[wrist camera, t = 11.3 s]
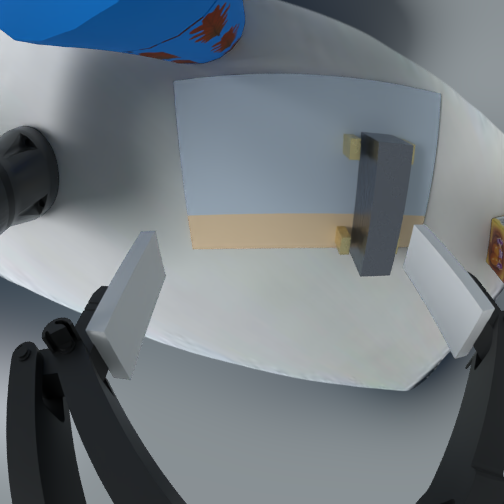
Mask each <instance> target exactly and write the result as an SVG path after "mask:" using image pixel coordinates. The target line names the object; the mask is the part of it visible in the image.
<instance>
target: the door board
mask: <svg viewBox="0 0 504 504" xmlns="http://www.w3.org/2000/svg"><path fill="white" fill-rule="evenodd" d="M173 83H174V97H175V109H176V120H177V131H178V141H179V150H180V159H181V168H182V176H183V184H184V192H185V199H186V207H187V214H188V221H189V228H190V234H191V241H192V247H193V249H246V248H337V247H336V244H335V237H336V228H337V226H346V228H347V230H348V232H349V234H350V236H351V232H352V225H353V217H354V208H355V199H356V190H357V179H358V168H359V160H349V159H348V158H347V157H346V156H345V155H344V154H343V135H344V134H354V135H355V136H357V137H359V138H361V132H370V133H380V134H389V135H393V136H395V137H397V138H399V139H405V140H407V141H409V142H411V143H413V144H415V145H416V146H415V154H414V163H413V165H411V172H410V179H409V186H408V192H407V198H406V204H405V210H404V215H403V220H402V225H401V230H400V235H399V237H400V241H399V246H398V247H409V243H410V239H411V235H412V231H413V227H414V225H423V222H424V218H425V213H426V209H427V204H428V199H429V193H430V188H431V182H432V176H433V170H434V163H435V156H436V148H437V139H438V130H439V118H440V103H441V94H440V93H436V92H432V91H427V90H423V89H419V88H414V87H409V86H404V85H399V84H393V83H387V82H381V81H374V80H367V79H359V78H350V77H341V76H329V75H313V74H239V75H224V76H212V77H202V78H193V79H185V80H177V81H173Z"/></svg>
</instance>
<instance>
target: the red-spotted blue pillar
mask: <svg viewBox="0 0 504 504" xmlns="http://www.w3.org/2000/svg"><path fill="white" fill-rule="evenodd" d="M244 25H245V14H244V7H243V0H0V29H1V30H2V31H3V32H5V33H6V34H7V35H9V36H10V37H11V38H13V39H14V40H17V41H22V42H28V43H33V44H40V45H52V46H61V47H76V48H88V49H98V50H107V51H115V52H122V53H129V54H135V55H141V56H146V57H152V58H157V59H162V60H167V61H171V62H176V63H184V64H195V63H206V62H209V61H212V60H215V59H218V58H220V57H221V56H223V55H224V54H226V53H227V52H228V51H230V50H231V49H232V48H233V47H234V46H235V44H236V43H237V42H238V40H239V39H240V38H241V35H242V32H243V28H244Z"/></svg>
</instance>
